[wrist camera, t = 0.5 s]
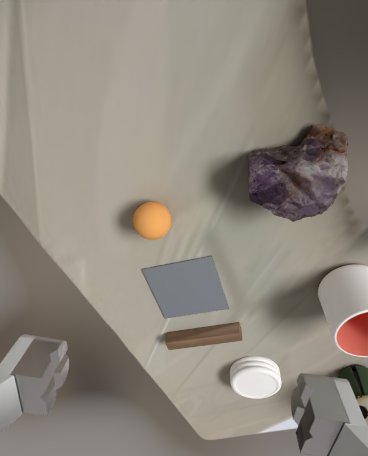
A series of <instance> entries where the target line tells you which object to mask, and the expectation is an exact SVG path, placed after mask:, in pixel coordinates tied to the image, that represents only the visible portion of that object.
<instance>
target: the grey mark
mask: <svg viewBox="0 0 368 456" xmlns="http://www.w3.org/2000/svg"><path fill="white" fill-rule="evenodd" d="M142 271H143V273H144V275H145V277H146V280H147V282H148V284H149V286H150V288H151V290H152V292H153V294H154V296H155V298H156V301H157V303H158V305H159V307H160V309H161V311H162V313H163V315H164V317H165V318H171V317H178V316H184V315H191V314H197V313H204V312H211V311H217V310H224V309H229V307H228V304H227V301H226V298H225V295H224V292H223V289H222V286H221V283H220V280H219V277H218V274H217V271H216V268H215V265H214V262H213V258H212V256H207V257H202V258H197V259H192V260H187V261H181V262H176V263H171V264H166V265H161V266H155V267H150V268H145V269H142Z"/></svg>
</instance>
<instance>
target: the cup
mask: <svg viewBox="0 0 368 456" xmlns="http://www.w3.org/2000/svg"><path fill="white" fill-rule="evenodd" d="M318 297H319V300H320V303H321V306H322V308H323V311H324V314H325V317H326V319H327V322H328V325H329V328H330V330H331V333H332V336H333V339H334V341H335V344H336V345H337V347H338V348H339V349H340V350H342V351H343V352H345V353H347V354H350V355H353V356H359V357H368V266H365V265H356V264H354V265H346V266H342V267H339V268H337V269H335V270H333V271H331V272H330V273H328V274H327V275H326V276H325V277H324V278H323V280H322V281H321V283H320V285H319V288H318Z"/></svg>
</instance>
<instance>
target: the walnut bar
mask: <svg viewBox="0 0 368 456" xmlns="http://www.w3.org/2000/svg"><path fill="white" fill-rule="evenodd" d="M235 341H242V332H241V327H240V324H239V322H237V323H230V324H223V325H216V326H209V327H202V328H195V329H188V330H181V331H174V332H167V336H166V343H165V344H166V346H167V347H168V349H169V350H173V349H181V348H189V347H196V346H204V345H212V344H219V343H227V342H235Z"/></svg>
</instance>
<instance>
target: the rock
mask: <svg viewBox="0 0 368 456" xmlns="http://www.w3.org/2000/svg"><path fill="white" fill-rule="evenodd" d="M347 147H348V137H347V135H346V134H344V133H343V132H339V131H336V130H333V129H329V128H327V127H326V126H325V125H324V124H317V125H315V126H312V127H311V129H310V130H309V132H308V133H307V134H306V135H305V137H304V140H303V141H301V143H300V145H298V146H280V147H279V148H276V149H267V148H265V149H261V150H258V151H252V152H251V153H249V155H248V156H247V157H248V161H249V168H250V169H249V176H248V181H249V196H250V200H251V201H253V202H255V203H258V204H260V205H262V206H263V207H264V208H266V209H269V210H271V211H272V213H273V214H274V215H276V216H280V217H283V218H288V219H290V220H291V221H292V222H294V221H296V220H300V219H302V218H305V217H312V216H316V215H317V214H322V213H323V212H324V211H326V210H327V209H328V208H329V207H330V206H331V205H333V202H334V200H335V199H336V197H337V195H338V194H339V192H340V191H341V189H342V187H343V186H344V185H345V184H346V177H347V169H348V165H347V161H348V156H347Z"/></svg>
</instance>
